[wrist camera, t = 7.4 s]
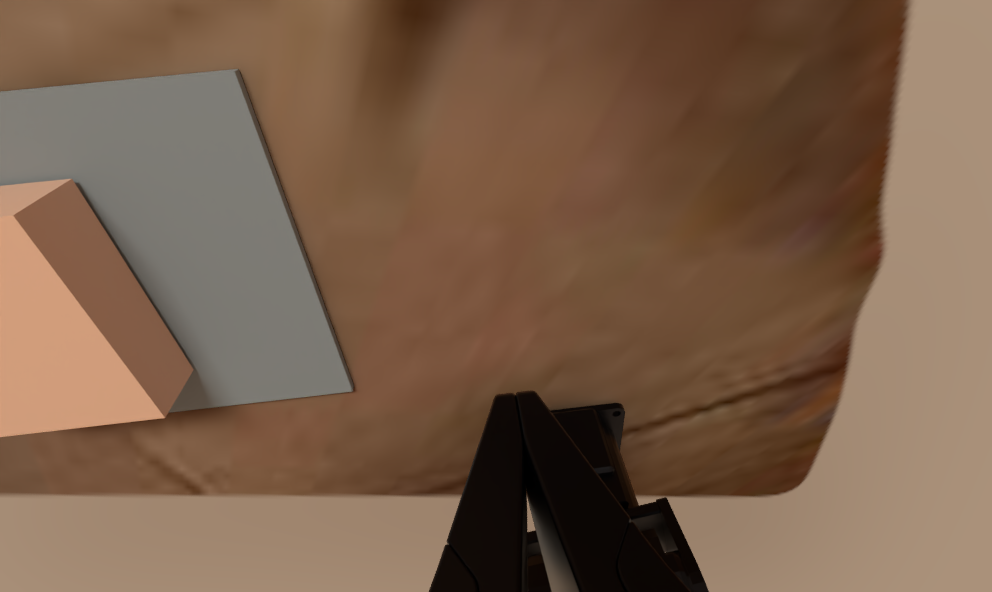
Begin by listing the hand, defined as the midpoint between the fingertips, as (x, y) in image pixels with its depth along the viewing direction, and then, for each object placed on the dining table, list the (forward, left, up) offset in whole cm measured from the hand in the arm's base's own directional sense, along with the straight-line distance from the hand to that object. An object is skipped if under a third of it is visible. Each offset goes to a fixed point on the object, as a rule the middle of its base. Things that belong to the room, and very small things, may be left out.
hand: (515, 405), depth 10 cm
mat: (-3, +18, -12) cm, 22 cm away
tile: (-3, +15, -10) cm, 18 cm away
